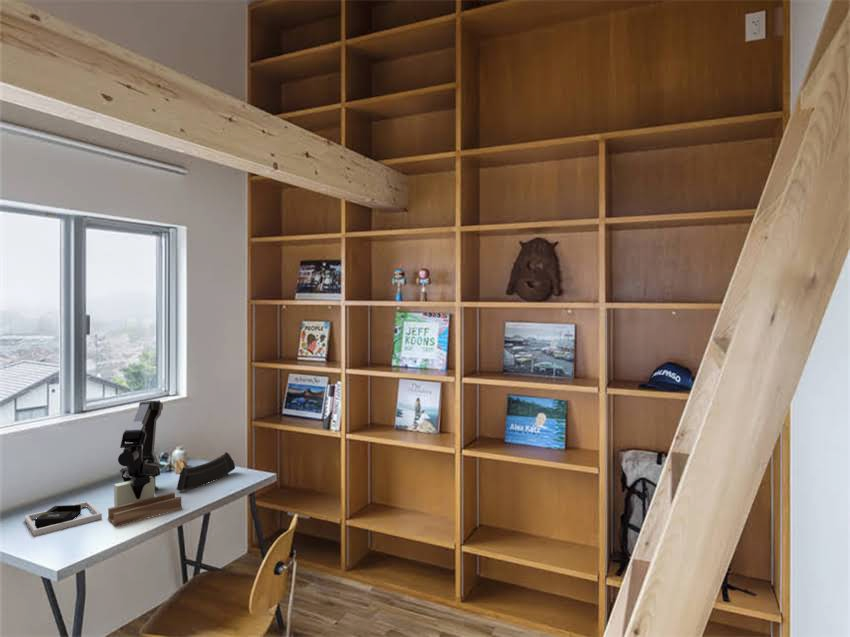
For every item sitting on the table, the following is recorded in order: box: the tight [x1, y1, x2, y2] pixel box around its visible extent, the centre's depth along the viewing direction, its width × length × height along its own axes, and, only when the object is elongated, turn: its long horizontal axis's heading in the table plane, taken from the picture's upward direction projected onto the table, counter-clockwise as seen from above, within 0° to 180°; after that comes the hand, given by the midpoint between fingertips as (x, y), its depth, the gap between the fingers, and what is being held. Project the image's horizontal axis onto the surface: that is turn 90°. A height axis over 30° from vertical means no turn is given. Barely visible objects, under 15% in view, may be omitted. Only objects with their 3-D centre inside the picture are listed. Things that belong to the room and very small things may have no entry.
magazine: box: [176, 451, 236, 492], centre depth 241 cm, size 17×3×30 cm
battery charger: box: [34, 504, 82, 529], centre depth 198 cm, size 13×10×4 cm
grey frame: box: [24, 500, 103, 537], centre depth 199 cm, size 18×21×2 cm
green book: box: [113, 476, 156, 507], centre depth 214 cm, size 4×14×10 cm, turn 136°
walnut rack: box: [107, 492, 183, 527], centre depth 205 cm, size 9×24×4 cm, turn 136°
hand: (134, 496), depth 214 cm, fingers open, 8 cm apart
